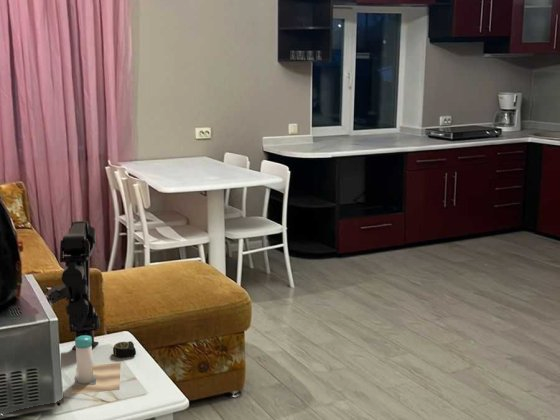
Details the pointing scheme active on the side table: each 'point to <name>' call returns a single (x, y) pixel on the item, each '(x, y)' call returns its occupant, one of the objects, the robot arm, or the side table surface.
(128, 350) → the tape measure
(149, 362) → the side table surface
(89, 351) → the ball
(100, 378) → the board
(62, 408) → the side table surface
